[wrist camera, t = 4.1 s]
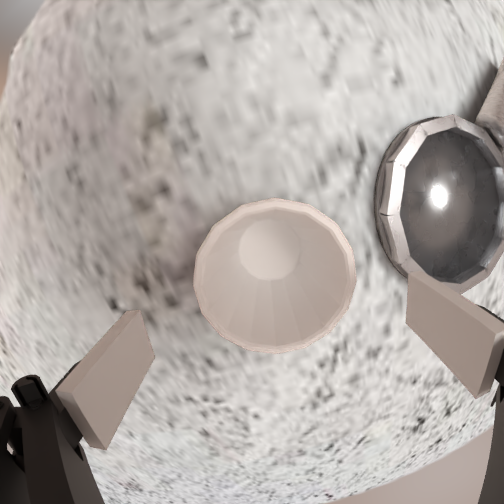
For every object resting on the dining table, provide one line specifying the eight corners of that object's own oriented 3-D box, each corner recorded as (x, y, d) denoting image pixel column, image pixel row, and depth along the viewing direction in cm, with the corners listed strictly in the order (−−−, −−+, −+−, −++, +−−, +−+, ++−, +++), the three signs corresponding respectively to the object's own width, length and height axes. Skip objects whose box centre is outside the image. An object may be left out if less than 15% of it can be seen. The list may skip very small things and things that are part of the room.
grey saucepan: (442, 315, 27) (481, 349, 20) (337, 216, 25) (369, 231, 17) (539, 133, 21) (577, 132, 13) (465, 30, 19) (501, 9, 11)
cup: (325, 192, 25) (361, 198, 16) (322, 298, 27) (349, 350, 18) (211, 194, 25) (186, 201, 16) (217, 301, 27) (200, 355, 18)
